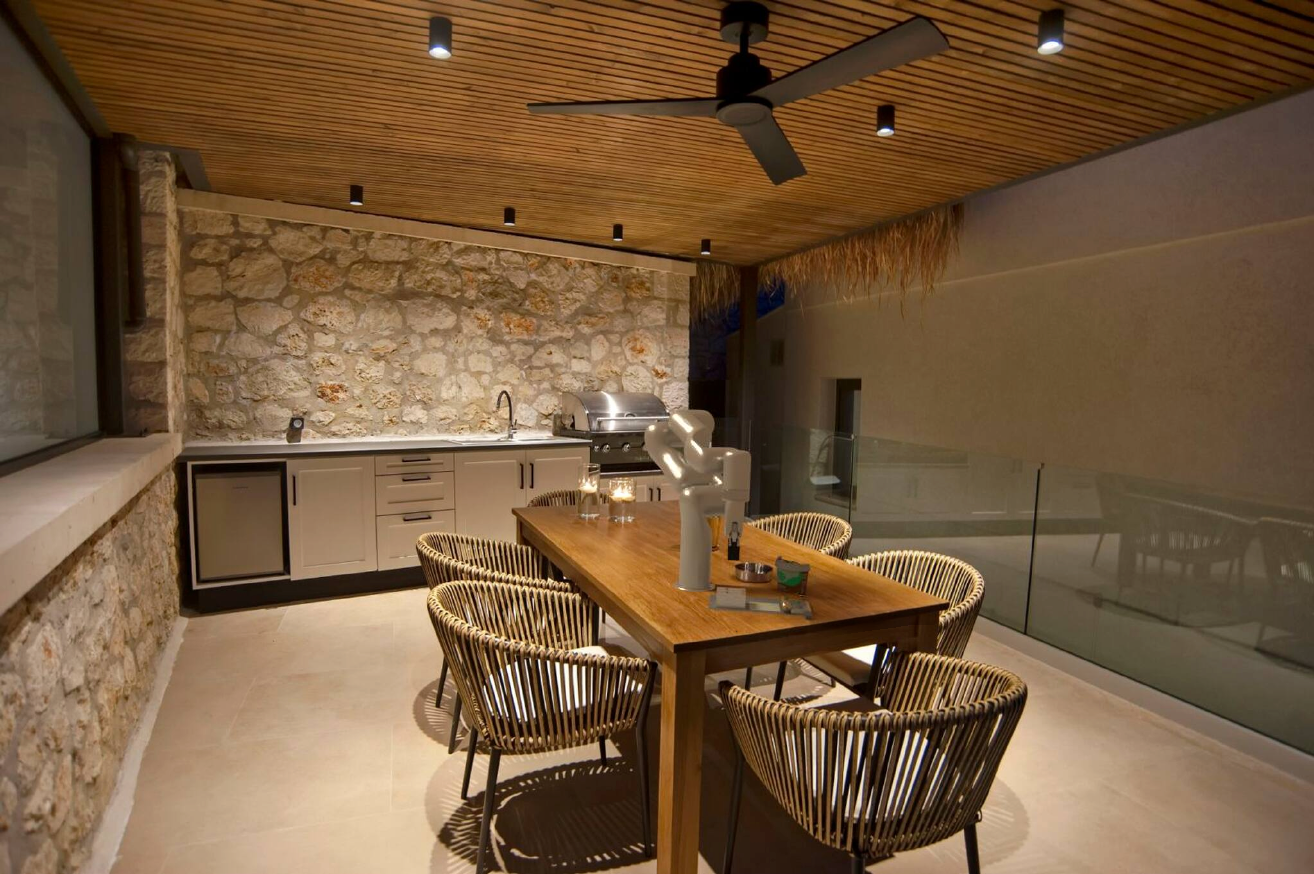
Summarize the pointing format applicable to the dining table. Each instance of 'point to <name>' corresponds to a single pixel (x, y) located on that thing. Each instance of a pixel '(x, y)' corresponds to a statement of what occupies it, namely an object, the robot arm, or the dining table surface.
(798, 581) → the food container
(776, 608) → the board
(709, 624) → the dining table surface
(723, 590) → the tan studded block
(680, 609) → the dining table surface
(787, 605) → the fixed leaf
